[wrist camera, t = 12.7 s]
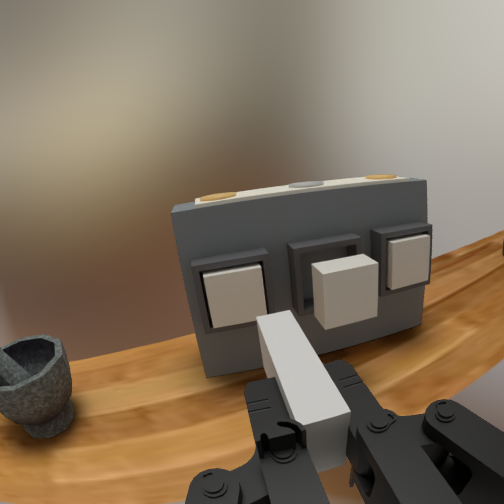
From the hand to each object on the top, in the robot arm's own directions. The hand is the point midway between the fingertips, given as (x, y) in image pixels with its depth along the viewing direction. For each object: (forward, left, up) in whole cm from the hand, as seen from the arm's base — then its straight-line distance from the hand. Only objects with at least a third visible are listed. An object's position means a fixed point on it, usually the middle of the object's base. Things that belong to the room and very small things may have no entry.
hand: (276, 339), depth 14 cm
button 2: (-15, -12, -5) cm, 20 cm away
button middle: (-7, -9, -5) cm, 12 cm away
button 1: (+1, -12, -5) cm, 13 cm away
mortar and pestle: (+22, -9, -12) cm, 26 cm away
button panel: (-7, -15, -12) cm, 20 cm away
